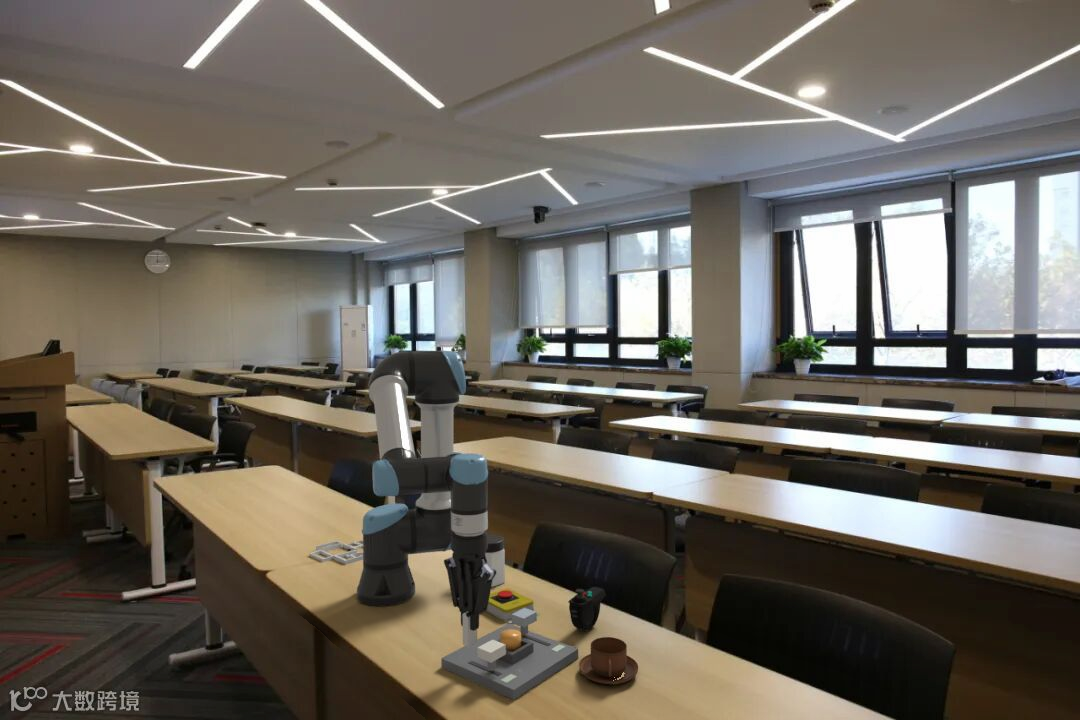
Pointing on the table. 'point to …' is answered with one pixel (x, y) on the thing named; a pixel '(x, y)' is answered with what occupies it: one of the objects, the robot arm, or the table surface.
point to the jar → (496, 558)
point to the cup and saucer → (608, 662)
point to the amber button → (511, 639)
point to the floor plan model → (339, 557)
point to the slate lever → (524, 619)
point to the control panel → (512, 663)
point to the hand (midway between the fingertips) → (470, 643)
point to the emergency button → (508, 604)
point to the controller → (586, 607)
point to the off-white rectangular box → (491, 652)
